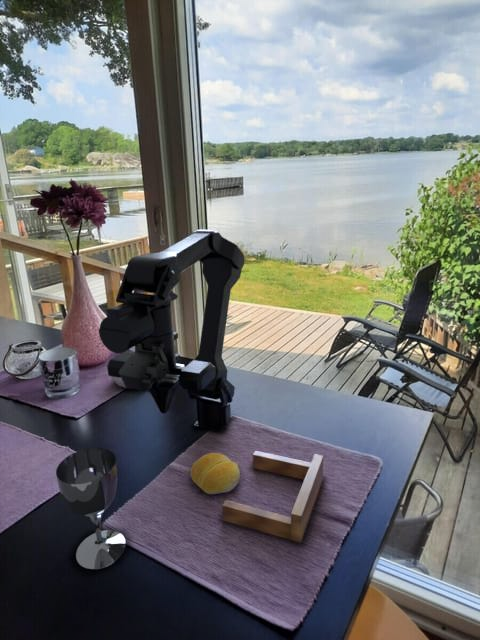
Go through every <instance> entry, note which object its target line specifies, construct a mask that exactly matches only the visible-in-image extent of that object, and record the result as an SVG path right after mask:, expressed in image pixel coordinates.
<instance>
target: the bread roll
mask: <svg viewBox="0 0 480 640" xmlns="http://www.w3.org/2000/svg"><path fill="white" fill-rule="evenodd" d="M190 478H191V479H192V481H193V483H194V484H196V486H197V487H199V488H200V489H201V490H202V491H203V492H204V493H206V494H208V495H217V494H225V493H229V492H231V491H232V490H234V489H235V488H236V487H237V485H238V483H239V482H240V479H241V470H240V467H239V465H238V464H237V463H236V462H234V461H232V460H230V459H229V458H228V456H226V455H225V454H222V453H220V452H208V453H206V454H204V455H202V456H200V457H199V458H198V459H197V460H196V461H194V463H193V464H192V466H191V469H190Z"/></svg>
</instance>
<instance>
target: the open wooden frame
mask: <svg viewBox="0 0 480 640" xmlns="http://www.w3.org/2000/svg"><path fill="white" fill-rule="evenodd" d="M252 468H253V469H256V470H260V471H264V472H268V473H273V474H277V475H281V476H286V477H290V478H294V479H298V480H303V482H302V485H301V487H300V489H299V492H298V495H297V497H296V500H295V502H294V505H293V507H292V510H291V513H290V516H289V515H284V514H280V513H276V512H272V511H269V510H265V509H261V508H258V507H254V506H251V505H246V504H243V503H240V502H235V501H231V500H228V499H225V500H224V502H223V504H222V505H221V509H222V510H221V512H222V521H224V522H227V523H230V524H234V525H237V526H240V527H245V528H248V529H251V530H255V531H257V532H258V531H259V532H262V533H265V534H269V535H271V536H276V537H279V538H283V539H287V540H289V541H293V542H297V543H302V541H303V538H304V535H305V533H306V529H307V527H308V524H309V521H310V517H311V515H312V512H313V509H314V506H315V503H316V500H317V497H318V494H319V491H320V488H321V486H322V482H323V480H324V455H322V454H318V453H314V454H313V457H312V459H311V462H310V461H305V460H301V459H297V458H291V457H286V456H282V455H277V454H274V453H269V452H265V451H259V450H254V452H253V454H252Z"/></svg>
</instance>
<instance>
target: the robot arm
mask: <svg viewBox="0 0 480 640" xmlns="http://www.w3.org/2000/svg"><path fill="white" fill-rule="evenodd" d="M197 262H200V264H201V265H202V268H201V269H202V275H203V277H204V279H205V282H206V285H207V289H206V297H205V306H204V311H203V312H204V313H203V320H202V326H201V334H200V341H199V348H198V353H197V355H196V356H195V358H194V359H193V360H192V361H191V360H190V361H188V363H187V365H186V366H185V364H181V363H177V362H179V361H180V360H181V354H180V353H176V342H175V341H176V340H178V339H179V332H177V331H175V330H174V321H173V320H174V319H173V308H172V302H173V301H176V300H177V299H178V298H179V296H178V294H176V293H175V292H173V291H172V290H174V289H175V287H176V286H177V285H178V284H179V283H180V281H181V274H182V273H183V272H185V271H186V270H187V269H189V268H190V267H192V266H193V265H195V264H197ZM244 265H245V254H244V253H243V251H242V250H241V249H240V247H239V246H238V245H237V244H236V243H234V242H232V241H231V240H229V239H227V238H225V237H224V236H222V234H221V233H220V232H219V231H216V230H214V229H211V230H210V229H197V230H195V231H193V232H192V234H190V235H189V236H187V237H185V238H183V239H181V240H180V241H178V242H176V243H175V244H173V245H171V246H169V247H167V248H166V249H163V250H161V251H159V252H149V253H143V254H139V255H136V256H132V258H130V259H129V260H128V262H127V266H126V267H125V271H124V274H123V276H122V280H121V283H120V286H119V289H118V291H117V295H116V298H115V302H116V303H118V304H119V305H115V306H114V305H113V306H110V307H108V308H107V309H106V317H104V318H103V319H102V320H101V322H100V323H99V328H98V334H99V335H98V336H99V339H100V340H101V343H102V344H103V345H104V347H105V348H106V349H107V350H109V351H110V352H112V353H114V354H116V355H115V356H113V357H111V358H110V359H109V360H108V362H107V364H106V371H107V375H108V377H111V376H113V377H119V378H122V381H123V383H124V385H125V387H126V388H125V387H124V388H125V389H128V390H129V389H132V390H139V391H140V392H147V391H148V392H149V394H150V395H151V397H152V398H153V401H154V403H155V404H156V406H157V408H158V410H159V412H160V414H167V413H168V412H169V409H170V406H171V403H172V401H173V398H174V395H175V392H176V390H177V388H178V385H180V386H181V388H182V389H183V390H186V391H187V394H188V397H189V399H191V400H195V403H196V405H195V406H196V418H197V420H196V421H195V423H194V424H193V426H194V427H195V428H198V429H203V430H207V431H213V432H218V433H221V432H222V431H223V430H224V429H225V427H226V426H227V425H228V424H229V423H230V421H231V420H232V417H233V415H232V414H231V413H232V412H231V403H232V402H233V398H234V395H235V389H236V388H235V385H234V384H233V383H231V382H230V381H229V380H228V368H227V366H226V363H225V361H224V359H223V349H224V343H225V334H226V327H227V320H228V314H229V313H228V312H229V307H230V298H231V293H232V292H231V291H232V289H233V287H234V286H235V285H236V284H237V283H238V281H239V280H240V279H241V275H242V270H243V268H244ZM147 293H148V294H147ZM132 348H134V352H133V351H132V350H130V349H132Z"/></svg>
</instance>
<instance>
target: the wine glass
mask: <svg viewBox="0 0 480 640" xmlns="http://www.w3.org/2000/svg"><path fill="white" fill-rule="evenodd" d="M55 475H56V481H57V482H56V483H57V485H58V490H59V492H60V495H61V497H62V499H63V501H64V503H65V505H66V507H67V508H68V509H69V510H70V511H71V512H72V513H74V514H76V515H78V516H80V517H84V518H87V519H89V521H90V522H91V524H92V527H93V529H94V533H92V534H90V535H89V536H87V537H86V538H84V539H83V540H82V542H81V543H80V544H79V545H78V547H77V549H76V553H75V560H76V562H77V564H78V565H79V566H80V567H82V568H84V569H86V570H100V569H104V568H107V567H109V566H111V565H112V564H114V563H116V561H118V560H119V559H120V558H121V556H122V555H123V554H124V552H125V549H126V545H127V543H126V542H127V541H126V538H125V537H124V535H123V534H122V533H120V532H119V531H117V530H113V529H112V530H111V529H105V530H102V524H101V523H102V516H103V514H104V512H105V511H106V510H107V509H108V508H109V507H110V506H111V505H112V503H113V501H114V500H115V499H116V495H117V491H118V483H119V470H118V462H117V456H116V455H115V453H114V452H113V451H111V450H109V449H108V448H103V447H89V448H85V449H84V448H83V449H79V450H77V451H75V452H73V453H71V454H69V455H68V456H66V457H65V458H64V459H62V461H60V462H59V464H58V465H57V467H56V470H55Z"/></svg>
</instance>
